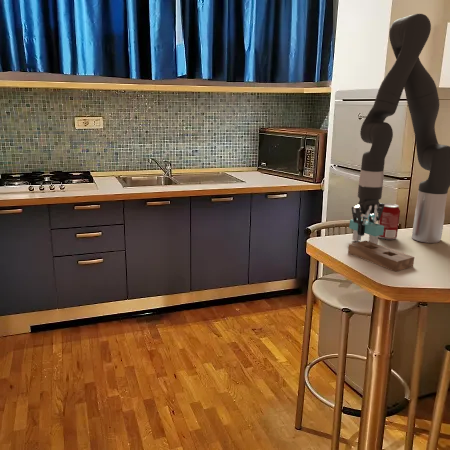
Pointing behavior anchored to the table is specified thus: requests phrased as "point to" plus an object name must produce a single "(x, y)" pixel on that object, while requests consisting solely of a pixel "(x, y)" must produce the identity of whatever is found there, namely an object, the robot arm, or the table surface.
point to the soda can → (390, 221)
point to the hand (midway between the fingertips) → (365, 234)
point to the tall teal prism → (367, 231)
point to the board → (381, 255)
